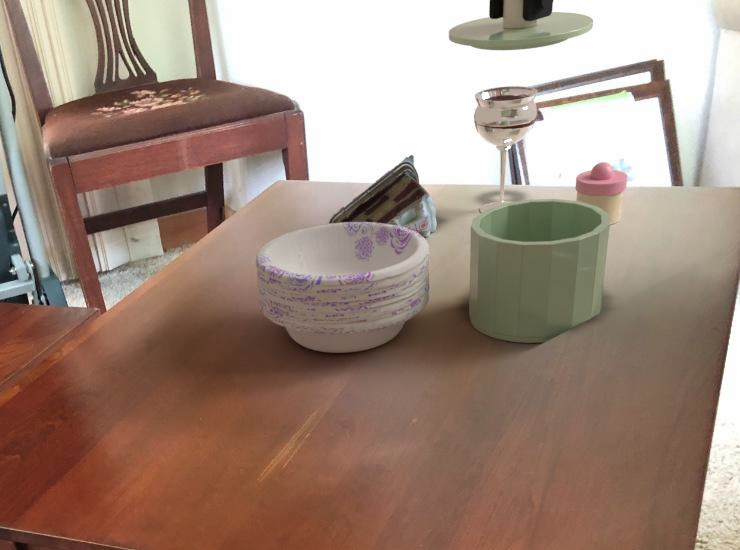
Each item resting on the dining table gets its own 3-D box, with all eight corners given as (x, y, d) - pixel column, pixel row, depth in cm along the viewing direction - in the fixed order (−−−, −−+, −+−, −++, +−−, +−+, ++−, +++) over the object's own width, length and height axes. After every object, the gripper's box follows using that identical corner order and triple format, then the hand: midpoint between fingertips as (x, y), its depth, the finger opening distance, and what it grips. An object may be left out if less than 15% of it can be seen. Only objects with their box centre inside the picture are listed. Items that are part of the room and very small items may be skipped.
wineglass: (466, 202, 113) (468, 90, 105) (524, 196, 113) (530, 83, 105) (477, 221, 108) (480, 104, 100) (537, 214, 108) (545, 96, 100)
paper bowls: (443, 301, 91) (444, 216, 86) (410, 374, 80) (408, 281, 75) (292, 297, 96) (284, 216, 91) (241, 365, 85) (229, 277, 80)
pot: (620, 330, 83) (633, 231, 77) (493, 351, 82) (497, 253, 77) (569, 283, 92) (577, 191, 86) (454, 302, 91) (455, 211, 86)
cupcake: (632, 216, 104) (639, 159, 100) (602, 230, 102) (608, 172, 98) (592, 207, 107) (597, 153, 104) (562, 221, 105) (567, 165, 101)
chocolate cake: (352, 263, 103) (429, 169, 98) (320, 228, 106) (393, 136, 102) (398, 298, 110) (472, 212, 105) (367, 264, 114) (437, 180, 109)
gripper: (657, -283, 69) (626, 13, 80) (483, -253, 79) (478, 5, 91) (592, -277, 65) (569, 31, 77) (419, -247, 76) (422, 20, 87)
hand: (520, 14), depth 84 cm, fingers closed on lid, 3 cm apart
